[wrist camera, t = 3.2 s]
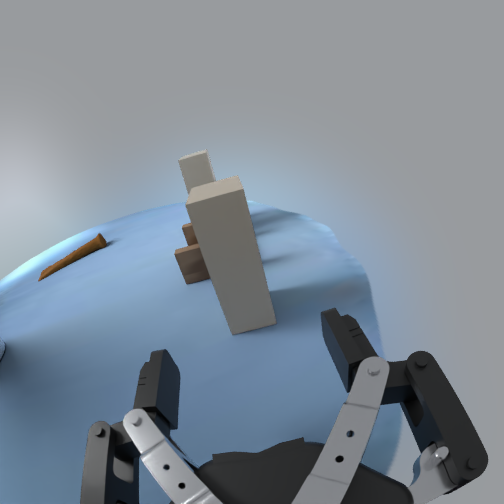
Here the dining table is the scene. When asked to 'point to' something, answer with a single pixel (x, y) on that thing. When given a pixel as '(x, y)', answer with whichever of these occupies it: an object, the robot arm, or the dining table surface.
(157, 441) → the robot arm
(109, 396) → the dining table surface
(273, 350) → the dining table surface
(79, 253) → the primitive tool
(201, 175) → the tall square post
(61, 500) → the dining table surface
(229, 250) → the beige rectangular block
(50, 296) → the dining table surface
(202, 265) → the rack
